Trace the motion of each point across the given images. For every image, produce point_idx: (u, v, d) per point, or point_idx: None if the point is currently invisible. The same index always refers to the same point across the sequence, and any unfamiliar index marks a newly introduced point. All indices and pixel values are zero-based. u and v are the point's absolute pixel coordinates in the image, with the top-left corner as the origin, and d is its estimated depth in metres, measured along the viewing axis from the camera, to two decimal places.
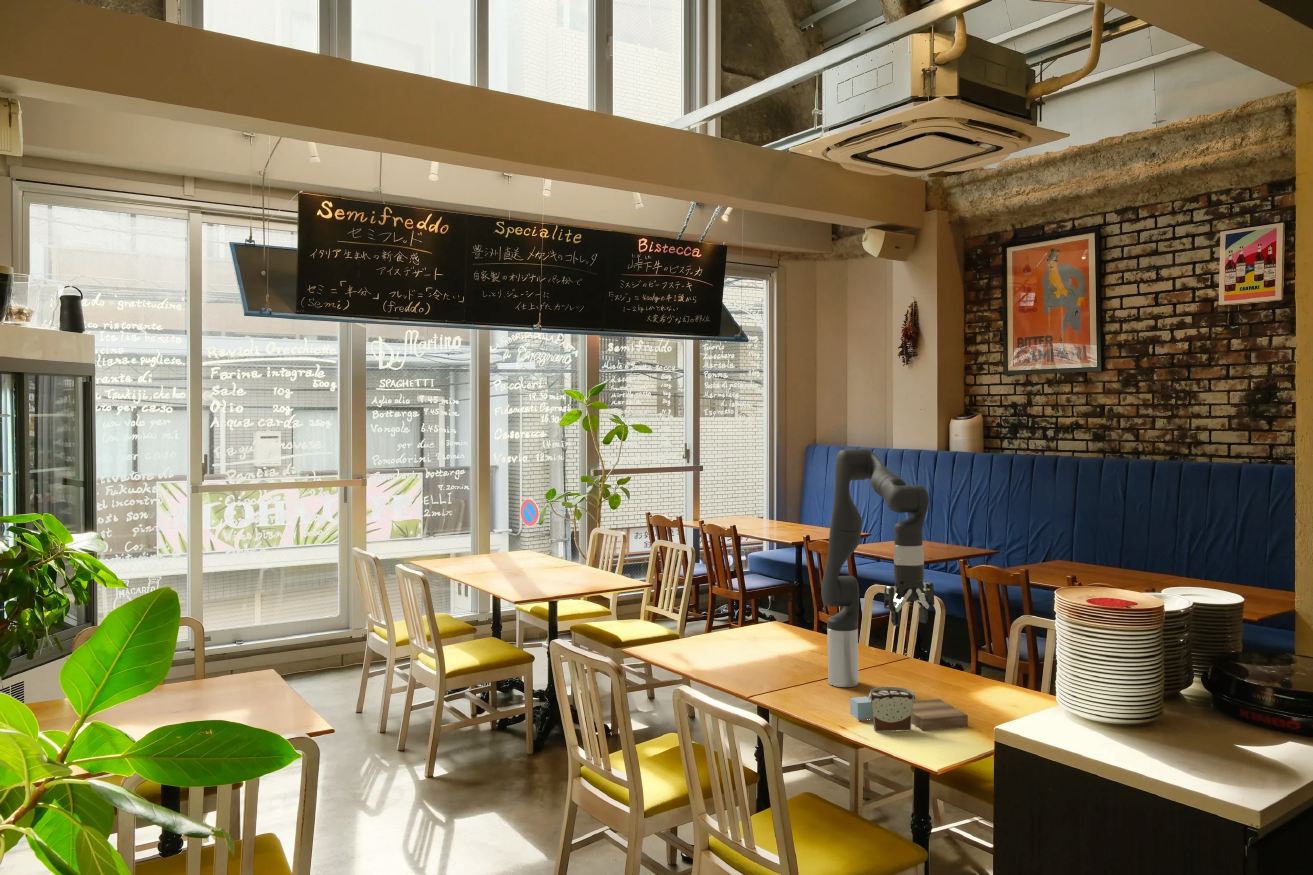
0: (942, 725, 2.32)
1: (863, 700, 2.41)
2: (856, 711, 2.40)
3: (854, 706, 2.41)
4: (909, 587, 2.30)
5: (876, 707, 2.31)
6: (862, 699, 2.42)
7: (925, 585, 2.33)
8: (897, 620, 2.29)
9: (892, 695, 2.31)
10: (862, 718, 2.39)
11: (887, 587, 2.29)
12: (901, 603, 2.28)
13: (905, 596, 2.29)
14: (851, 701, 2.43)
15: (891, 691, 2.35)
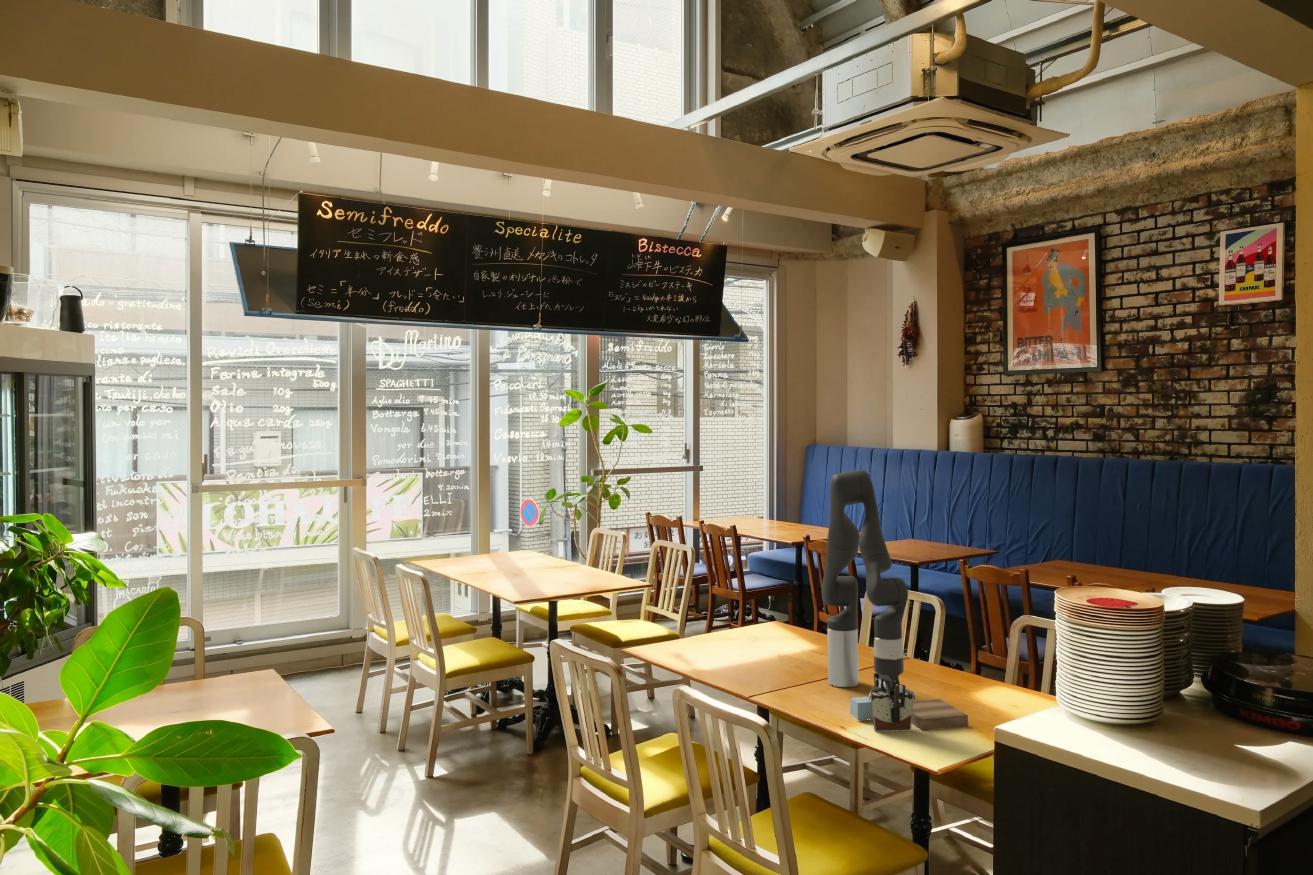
0: (942, 725, 2.32)
1: (863, 700, 2.41)
2: (856, 711, 2.40)
3: (854, 706, 2.41)
4: None
5: (876, 707, 2.31)
6: (862, 699, 2.42)
7: None
8: None
9: None
10: (862, 718, 2.39)
11: (900, 687, 2.27)
12: None
13: None
14: (851, 701, 2.43)
15: None
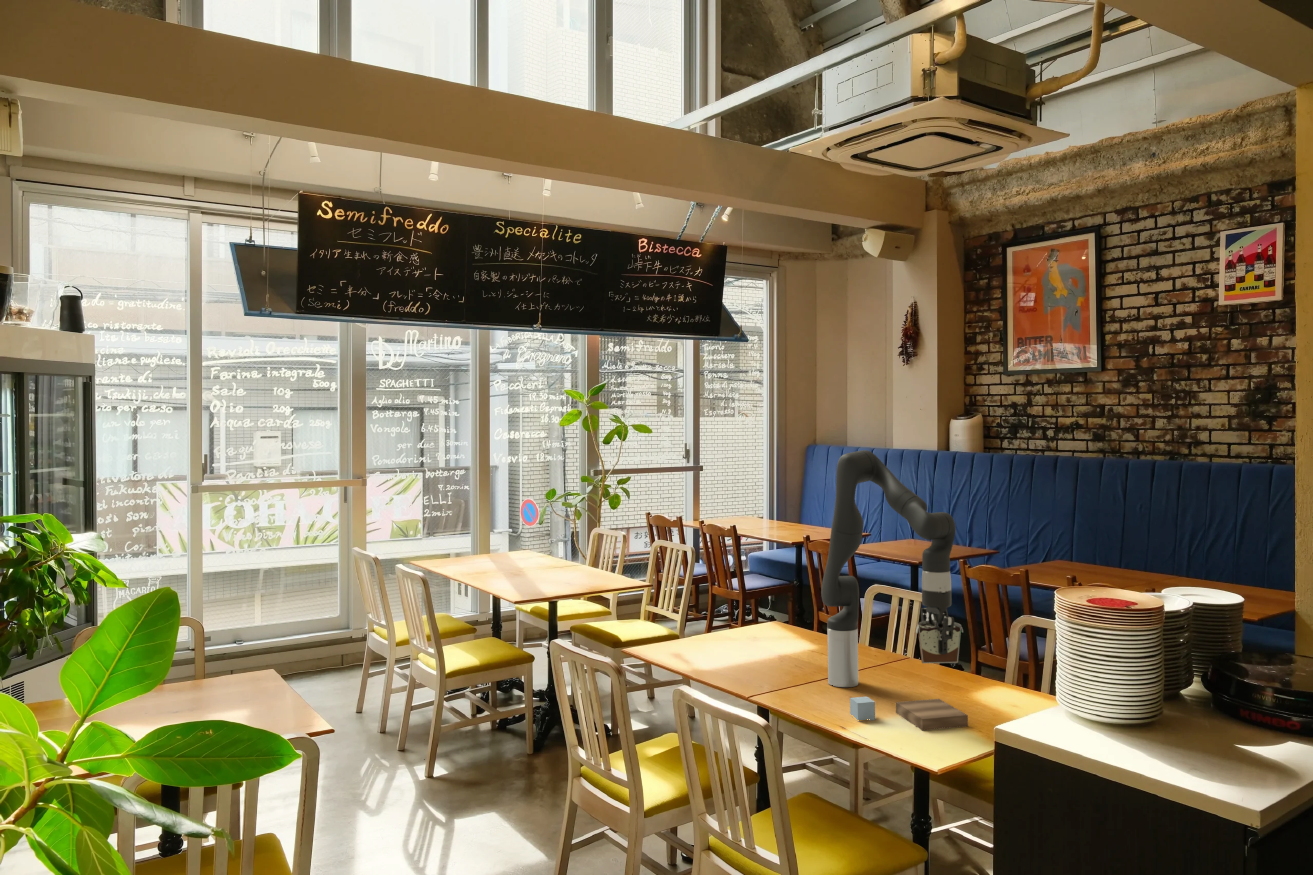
0: (942, 725, 2.32)
1: (863, 700, 2.41)
2: (856, 711, 2.40)
3: (854, 706, 2.41)
4: None
5: (924, 639, 2.33)
6: (862, 699, 2.42)
7: None
8: (946, 648, 2.33)
9: (940, 627, 2.34)
10: (862, 718, 2.39)
11: (949, 619, 2.29)
12: None
13: None
14: (851, 701, 2.43)
15: None
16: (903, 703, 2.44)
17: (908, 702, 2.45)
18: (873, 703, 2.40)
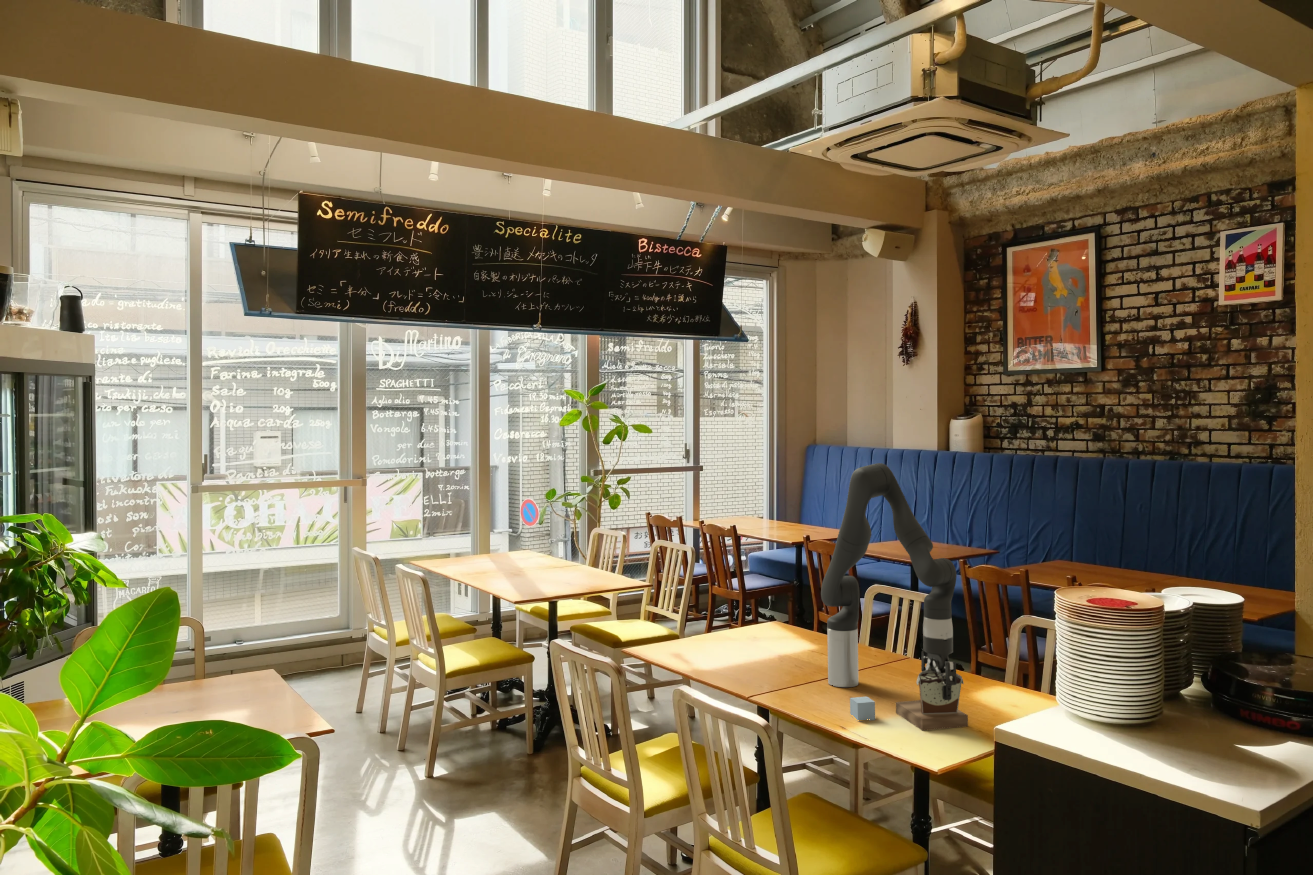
0: (942, 725, 2.32)
1: (863, 700, 2.41)
2: (856, 711, 2.40)
3: (854, 706, 2.41)
4: None
5: (924, 691, 2.34)
6: (862, 699, 2.42)
7: None
8: (950, 693, 2.32)
9: (940, 679, 2.34)
10: (862, 718, 2.39)
11: (950, 663, 2.29)
12: (950, 675, 2.33)
13: None
14: (851, 701, 2.43)
15: None
16: (903, 703, 2.44)
17: (908, 702, 2.45)
18: (873, 703, 2.40)
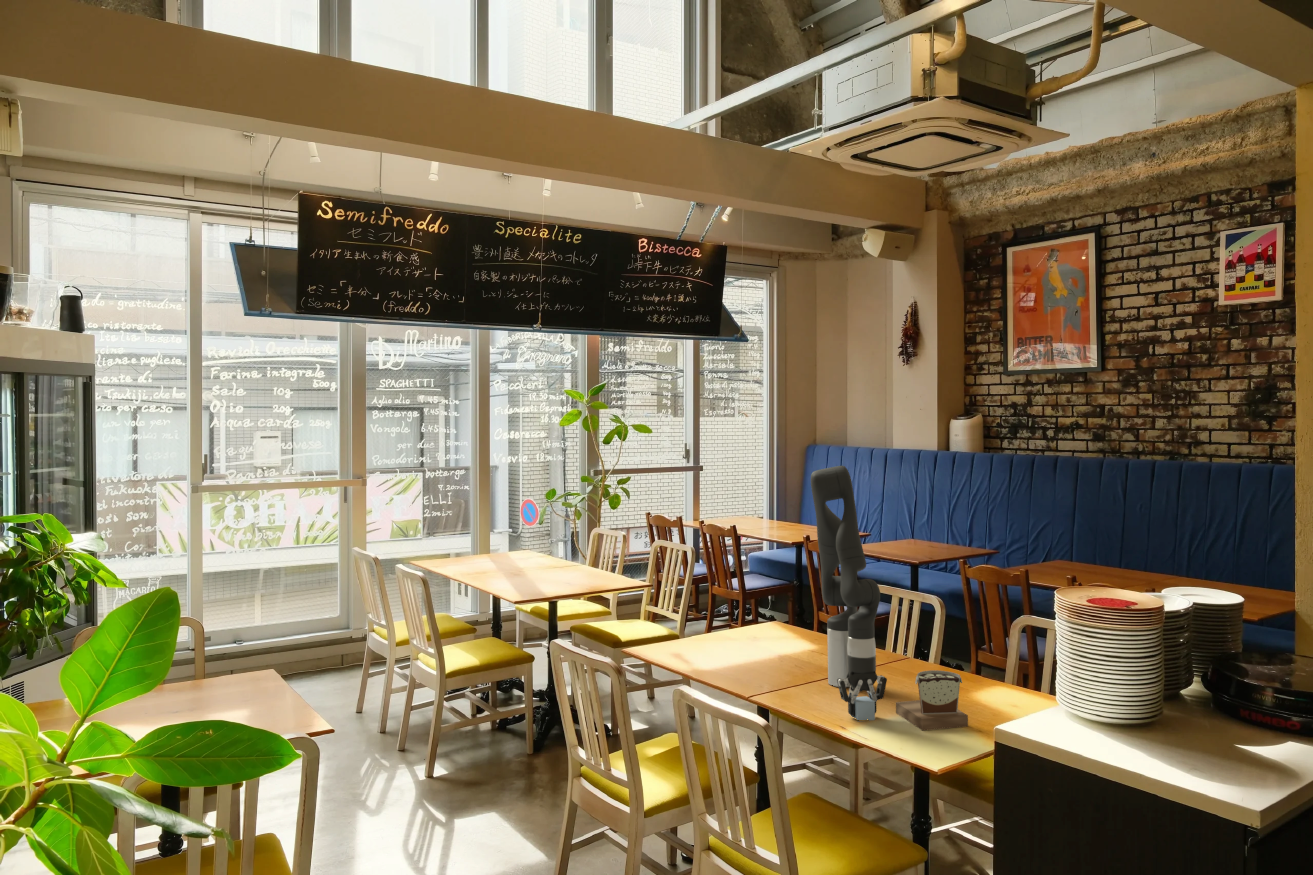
0: (942, 725, 2.32)
1: (863, 700, 2.41)
2: (856, 711, 2.40)
3: None
4: None
5: (923, 690, 2.35)
6: (862, 699, 2.42)
7: None
8: None
9: (939, 678, 2.35)
10: (862, 718, 2.39)
11: None
12: None
13: None
14: None
15: (937, 675, 2.39)
16: (903, 703, 2.44)
17: (908, 702, 2.45)
18: (873, 703, 2.40)
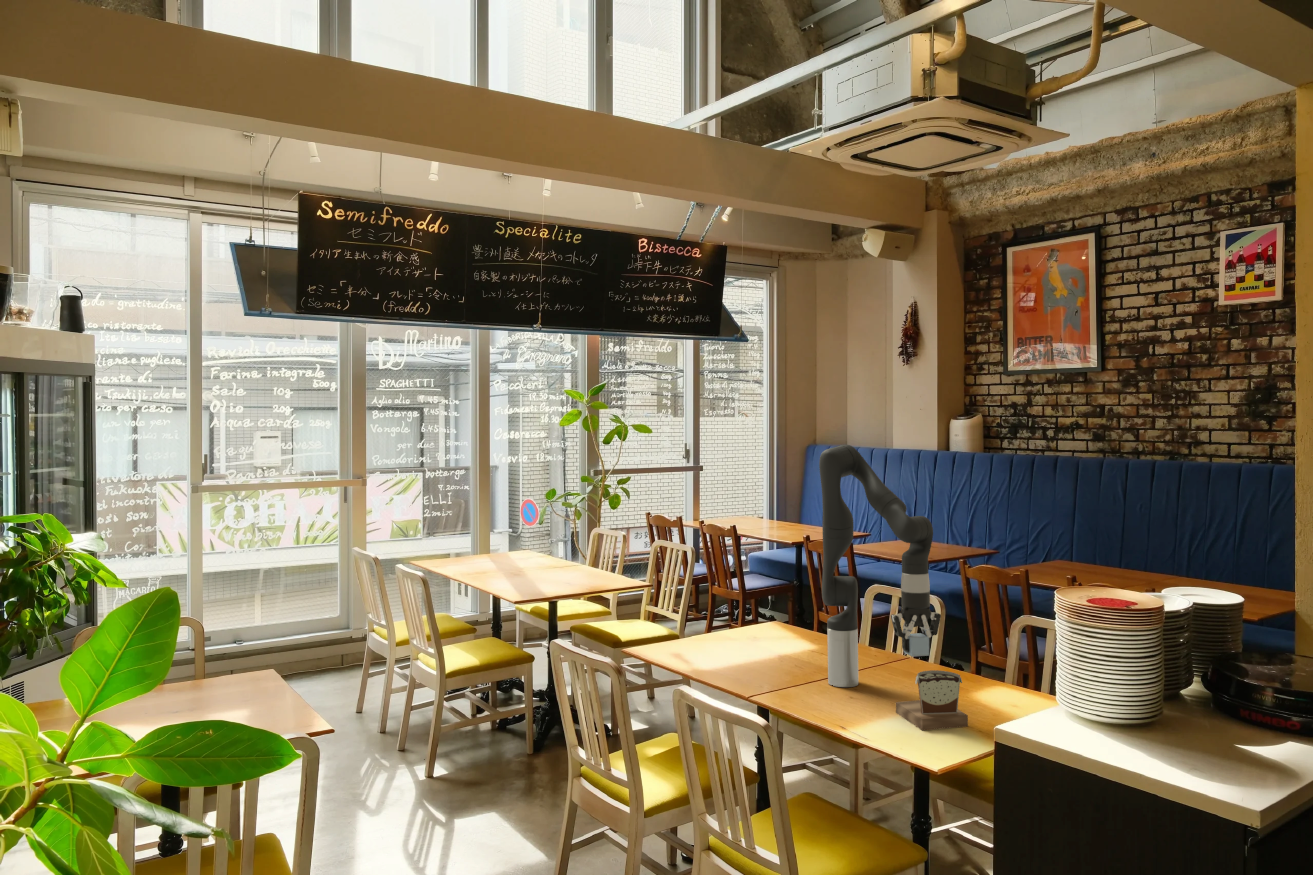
0: (942, 725, 2.32)
1: (917, 636, 2.43)
2: (910, 646, 2.41)
3: None
4: None
5: (923, 690, 2.35)
6: (916, 635, 2.43)
7: None
8: None
9: (939, 678, 2.35)
10: (916, 653, 2.40)
11: None
12: None
13: None
14: None
15: (937, 675, 2.39)
16: (903, 703, 2.44)
17: (908, 702, 2.45)
18: (927, 638, 2.41)
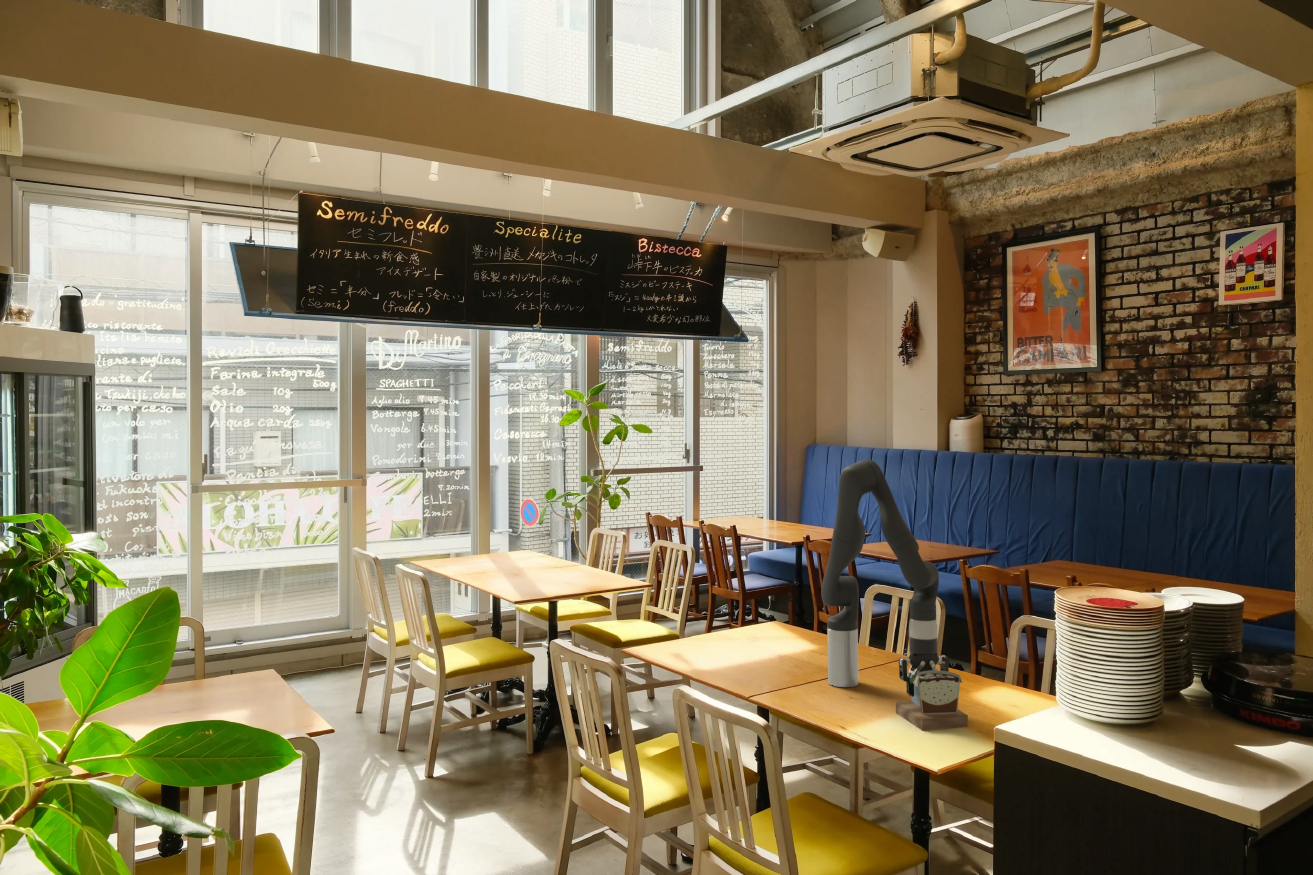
0: (942, 725, 2.32)
1: None
2: (918, 696, 2.42)
3: (916, 691, 2.43)
4: None
5: (923, 690, 2.35)
6: None
7: None
8: None
9: (939, 678, 2.35)
10: None
11: None
12: None
13: None
14: None
15: (937, 675, 2.39)
16: (903, 703, 2.44)
17: (908, 702, 2.45)
18: None
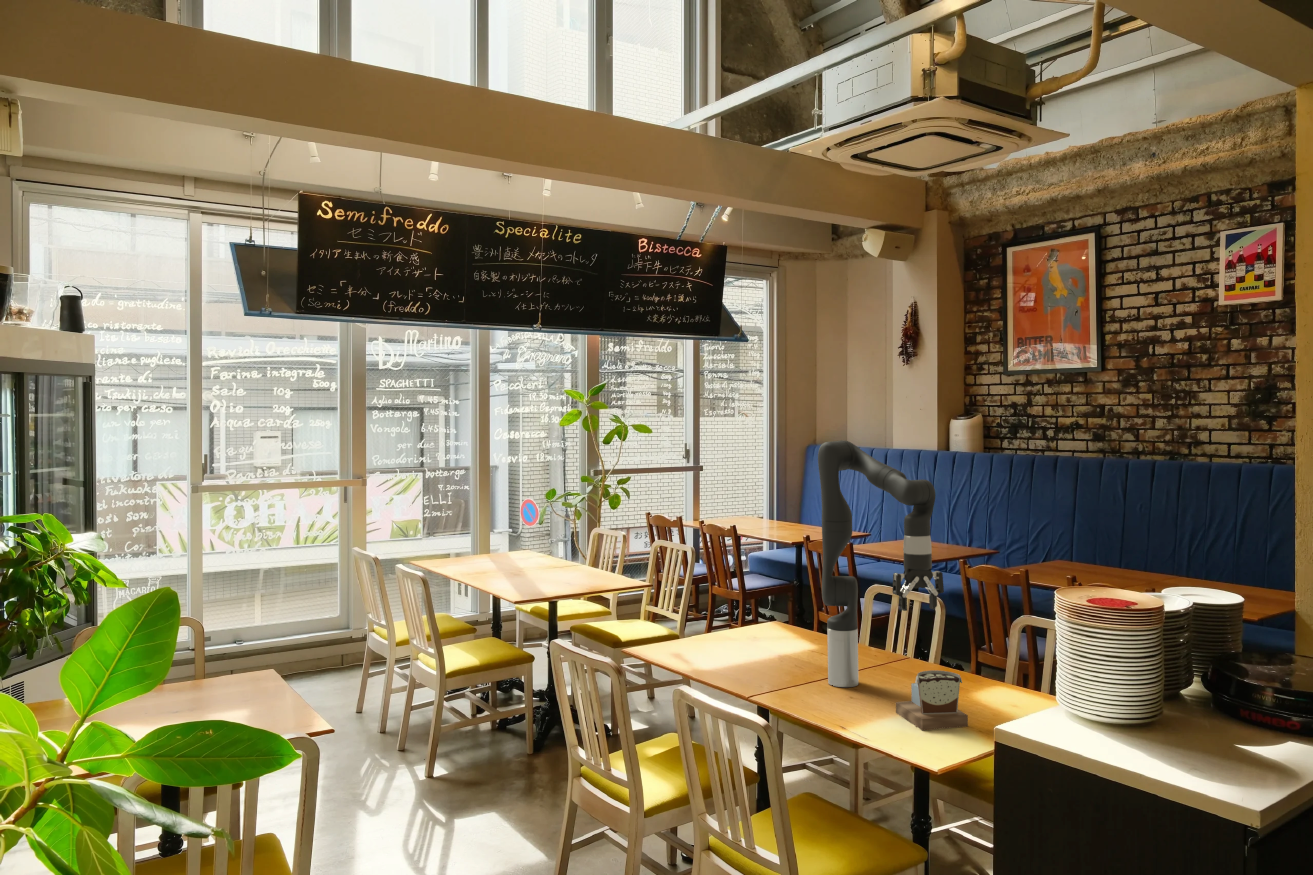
0: (942, 725, 2.32)
1: None
2: (918, 696, 2.42)
3: (916, 691, 2.43)
4: None
5: (923, 690, 2.35)
6: None
7: None
8: None
9: (939, 678, 2.35)
10: None
11: None
12: None
13: None
14: (913, 687, 2.45)
15: (937, 675, 2.39)
16: (903, 703, 2.44)
17: (908, 702, 2.45)
18: None
